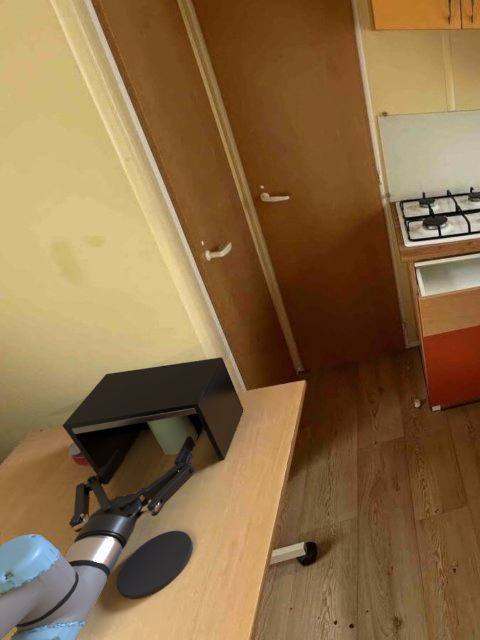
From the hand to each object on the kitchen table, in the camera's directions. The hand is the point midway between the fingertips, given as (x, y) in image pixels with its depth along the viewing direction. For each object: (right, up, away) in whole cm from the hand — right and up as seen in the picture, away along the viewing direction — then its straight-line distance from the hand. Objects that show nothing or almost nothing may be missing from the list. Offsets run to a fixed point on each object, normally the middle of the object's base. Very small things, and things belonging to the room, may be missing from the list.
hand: (156, 446), depth 93 cm
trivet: (+13, -15, -15) cm, 25 cm away
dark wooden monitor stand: (-2, -3, +9) cm, 9 cm away
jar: (-2, -3, +9) cm, 10 cm away
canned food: (-19, -4, +8) cm, 21 cm away
